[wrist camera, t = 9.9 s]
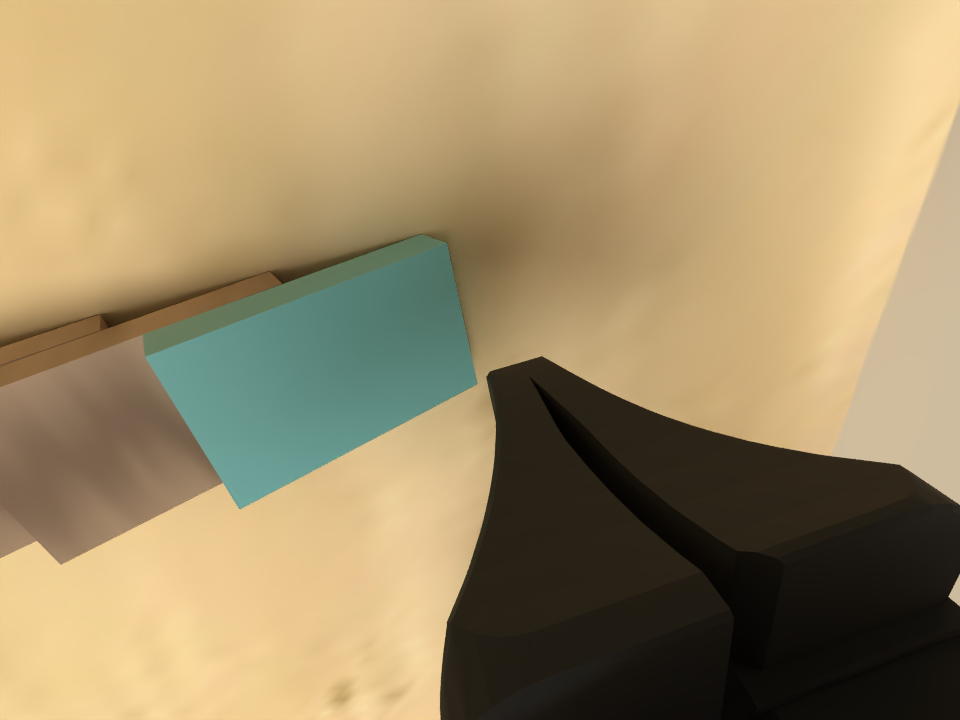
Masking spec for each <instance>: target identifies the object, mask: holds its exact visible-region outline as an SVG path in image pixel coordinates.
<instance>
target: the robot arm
mask: <svg viewBox="0 0 960 720" xmlns="http://www.w3.org/2000/svg"><path fill="white" fill-rule="evenodd" d="M486 378H487V382H488V387H489V392H490V396H491V401H492V406H493V411H494V415H495V420H496V443H495V459H494V468H493V475H492V482H491V488H490V493H489V498H488V503H487V507H486V512H485V516H484V520H483V524H482V528H481V531H480V535H479V538H478V541H477V544H476V547H475V550H474V554H473V557H472V560H471V563H470V566H469V569H468V572H467V575H466V577H465V580H464V582H463V585H462V587H461V589H460V592H459V594H458V597H457V599H456V602H455V604H454V606H453V609H452V611H451V614H450V616H449V619H448V621H447V629H446V637H445V645H444V653H443V663H442V673H441V689H440V715H441V720H960V606H959V605H957V604H956V603H955V602H954V601H952V600H951V599H950V598H949V597H948V596H949V594H950V592H951V590H952V588H953V586H954V584H955V582H956V580H957V578H958V576H959V574H960V505H959V504H958V503H956V502H954V501H953V500H951V499H950V498H949V497H947V496H946V495H944V494H942V493H941V492H940V491H938V490H937V489H935V488H934V487H932V486H931V485H929V484H928V483H926V482H925V481H923V480H922V479H920V478H919V477H918V476H916V475H914V474H913V473H912V472H910V471H909V470H907V469H905V468H904V467H902V466H900V465H896V464H889V463H881V462H872V461H864V460H856V459H848V458H840V457H832V456H824V455H818V454H812V453H807V452H801V451H796V450H790V449H785V448H779V447H774V446H769V445H765V444H760V443H755V442H751V441H746V440H742V439H739V438H735V437H731V436H727V435H723V434H719V433H715V432H712V431H708V430H705V429H702V428H698V427H695V426H692V425H689V424H686V423H683V422H680V421H677V420H674V419H671V418H668V417H665V416H663V415H660V414H657V413H655V412H652V411H650V410H647V409H645V408H642V407H640V406H638V405H635V404H633V403H631V402H629V401H626V400H624V399H622V398H620V397H617V396H615V395H613V394H611V393H609V392H607V391H605V390H603V389H601V388H599V387H597V386H595V385H593V384H591V383H589V382H587V381H586V380H584V379H582V378H580V377H578V376H576V375H575V374H573V373H571V372H569V371H567V370H566V369H564V368H562V367H560V366H558V365H557V364H555V363H553V362H551V361H550V360H548V359H546V358H544V357H538V358H535V359H531V360H528V361H524V362H521V363H518V364H514V365H511V366H507V367H504V368H500V369H497V370H494V371H490V373H489V374H488V376H487V377H486Z"/></svg>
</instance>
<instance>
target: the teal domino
mask: <svg viewBox="0 0 960 720" xmlns="http://www.w3.org/2000/svg"><path fill="white" fill-rule="evenodd" d="M143 342H144V353H145V358H146V360H147V361H148V363H149V364H150V366H151V368H152V369H153V371H154V372H155V374H156V376H157V377H158V379H159V380H160V382H161V384H162V385H163V387H164V389H165V390H166V392H167V393H168V395H169V397H170V398H171V400H172V401H173V403H174V405H175V406H176V408H177V409H178V411H179V413H180V414H181V416H182V417H183V419H184V421H185V422H186V424H187V426H188V427H189V429H190V430H191V432H192V434H193V435H194V437H195V438H196V440H197V442H198V443H199V445H200V446H201V448H202V450H203V451H204V453H205V454H206V456H207V458H208V459H209V461H210V463H211V464H212V466H213V467H214V469H215V471H216V472H217V474H218V475H219V477H220V479H221V480H222V482H223V483H224V485H225V487H226V488H227V490H228V492H229V493H230V495H231V496H232V498H233V500H234V501H235V503H236V504H237V506H238V508H239V509H241V508H243V507H245V506H247V505H249V504H251V503H253V502H255V501H257V500H259V499H260V498H262V497H264V496H266V495H268V494H270V493H272V492H274V491H276V490H277V489H279V488H281V487H283V486H285V485H287V484H289V483H291V482H293V481H295V480H296V479H298V478H300V477H302V476H304V475H306V474H308V473H310V472H312V471H313V470H315V469H317V468H319V467H321V466H323V465H325V464H327V463H329V462H331V461H332V460H334V459H336V458H338V457H340V456H342V455H344V454H346V453H348V452H349V451H351V450H353V449H355V448H357V447H359V446H361V445H363V444H365V443H367V442H368V441H370V440H372V439H374V438H376V437H378V436H380V435H382V434H384V433H385V432H387V431H389V430H391V429H393V428H395V427H397V426H399V425H401V424H403V423H404V422H406V421H408V420H410V419H412V418H414V417H416V416H418V415H420V414H421V413H423V412H425V411H427V410H429V409H431V408H433V407H435V406H437V405H439V404H440V403H442V402H444V401H446V400H448V399H450V398H452V397H454V396H456V395H457V394H459V393H461V392H463V391H465V390H467V389H469V388H471V387H473V386H475V385H476V384H477V379H476V375H475V370H474V366H473V361H472V356H471V352H470V347H469V343H468V338H467V333H466V329H465V324H464V319H463V315H462V310H461V306H460V301H459V296H458V292H457V287H456V283H455V278H454V273H453V269H452V264H451V259H450V255H449V250H448V246H447V243H446V242H443V241H440V240H438V239H435V238H432V237H429V236H426V235H423V234H420V235H417V236H414V237H412V238H409V239H406V240H403V241H401V242H398V243H395V244H392V245H389V246H387V247H384V248H381V249H378V250H376V251H373V252H370V253H367V254H365V255H362V256H359V257H356V258H353V259H351V260H348V261H345V262H342V263H340V264H337V265H334V266H331V267H328V268H326V269H323V270H320V271H317V272H315V273H312V274H309V275H306V276H304V277H301V278H298V279H295V280H292V281H290V282H287V283H284V284H281V285H279V286H276V287H273V288H270V289H268V290H265V291H262V292H259V293H256V294H254V295H251V296H248V297H245V298H243V299H240V300H237V301H234V302H232V303H229V304H226V305H223V306H220V307H218V308H215V309H212V310H209V311H207V312H204V313H201V314H198V315H195V316H193V317H190V318H187V319H184V320H182V321H179V322H176V323H173V324H171V325H168V326H165V327H162V328H159V329H157V330H154V331H151V332H148V333H146V334H143Z"/></svg>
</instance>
